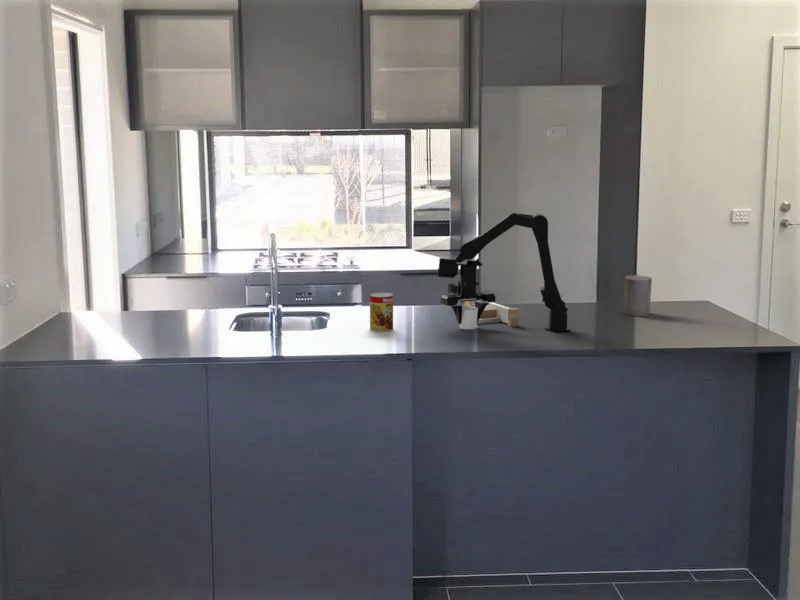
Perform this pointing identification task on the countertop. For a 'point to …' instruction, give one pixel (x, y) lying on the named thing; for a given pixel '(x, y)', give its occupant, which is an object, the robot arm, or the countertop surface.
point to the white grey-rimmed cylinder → (469, 317)
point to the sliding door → (495, 312)
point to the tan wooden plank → (512, 317)
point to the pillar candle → (637, 295)
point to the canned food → (381, 311)
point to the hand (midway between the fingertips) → (467, 323)
